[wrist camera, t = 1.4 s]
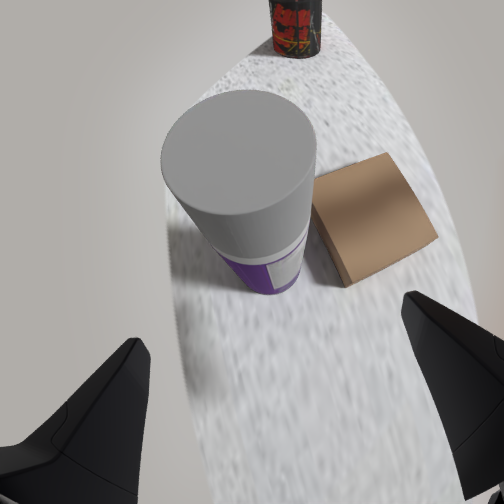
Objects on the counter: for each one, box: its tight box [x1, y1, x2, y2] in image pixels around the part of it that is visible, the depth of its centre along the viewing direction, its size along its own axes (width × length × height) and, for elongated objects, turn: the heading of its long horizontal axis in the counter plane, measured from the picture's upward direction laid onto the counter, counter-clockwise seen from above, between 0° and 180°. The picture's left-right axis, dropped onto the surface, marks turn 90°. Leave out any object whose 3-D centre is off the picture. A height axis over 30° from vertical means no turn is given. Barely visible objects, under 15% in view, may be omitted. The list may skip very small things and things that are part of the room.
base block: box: [311, 152, 438, 288], centre depth 21 cm, size 8×8×2 cm
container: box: [161, 90, 317, 295], centre depth 15 cm, size 5×5×15 cm
